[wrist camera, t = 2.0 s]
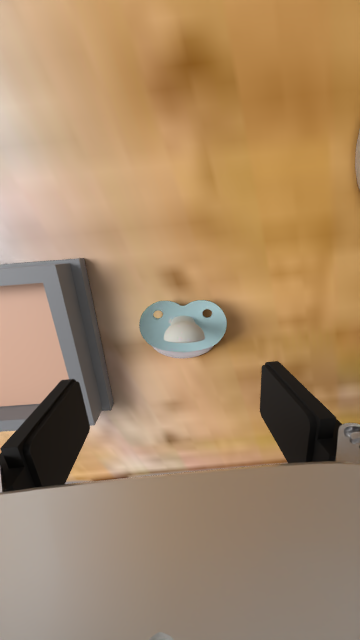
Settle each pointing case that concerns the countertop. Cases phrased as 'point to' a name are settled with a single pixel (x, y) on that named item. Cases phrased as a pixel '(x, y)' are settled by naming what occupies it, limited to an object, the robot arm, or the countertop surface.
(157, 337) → the pacifier
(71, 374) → the holder
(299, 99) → the countertop surface
